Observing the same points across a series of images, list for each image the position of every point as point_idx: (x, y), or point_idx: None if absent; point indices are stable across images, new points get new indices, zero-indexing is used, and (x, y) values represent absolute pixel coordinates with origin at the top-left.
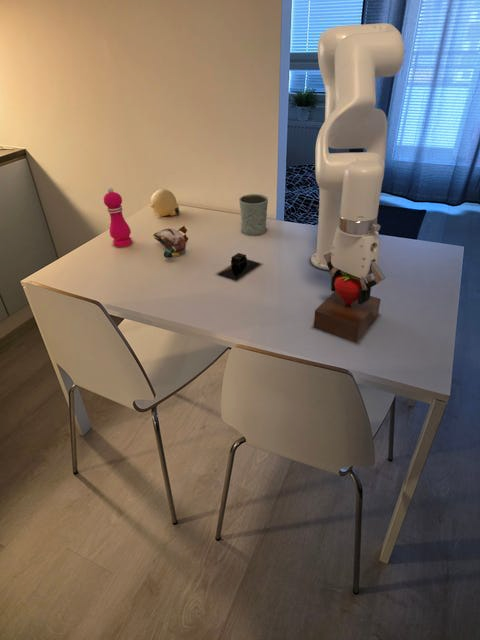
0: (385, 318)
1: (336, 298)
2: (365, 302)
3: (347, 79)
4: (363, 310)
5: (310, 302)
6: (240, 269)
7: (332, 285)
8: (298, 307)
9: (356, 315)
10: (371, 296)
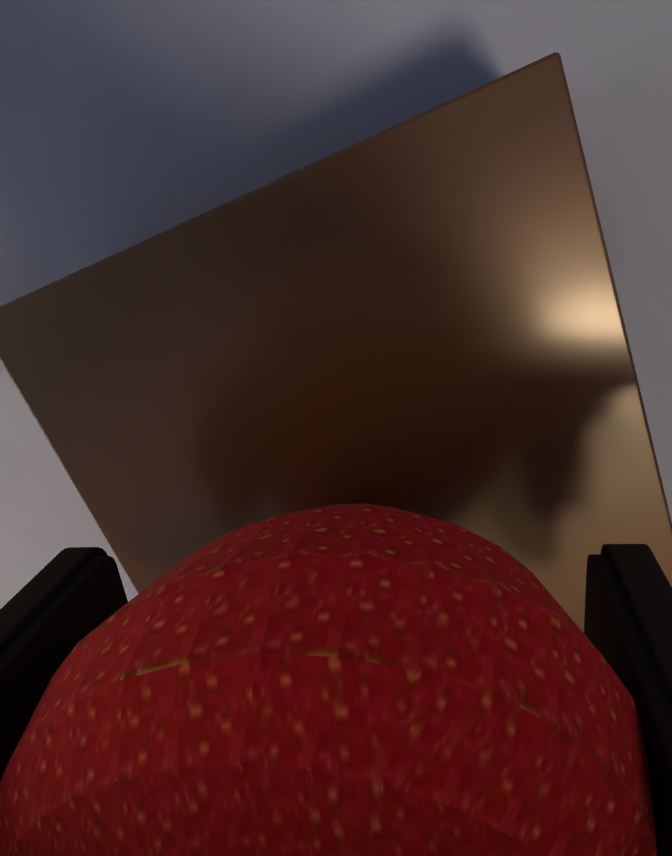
0: (615, 60)
1: (186, 529)
2: (464, 338)
3: None
4: (576, 501)
5: (3, 448)
6: None
7: None
8: (31, 556)
9: (583, 625)
10: (409, 133)
